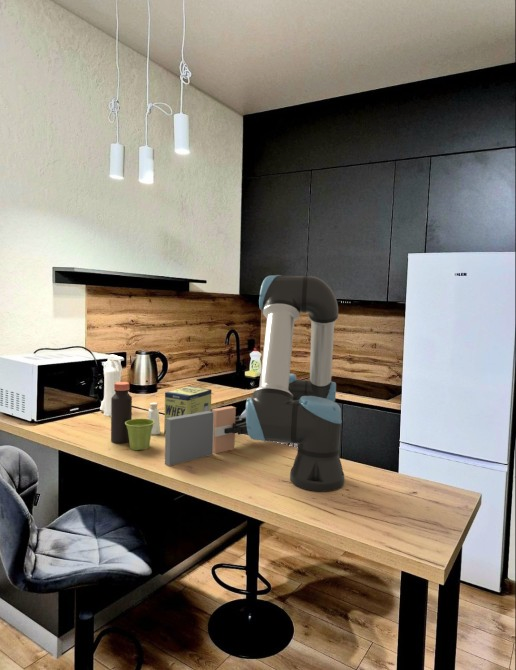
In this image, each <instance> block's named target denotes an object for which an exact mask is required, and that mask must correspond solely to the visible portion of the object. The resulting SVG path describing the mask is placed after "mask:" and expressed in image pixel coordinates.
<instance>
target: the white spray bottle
mask: <svg viewBox="0 0 516 670" xmlns="http://www.w3.org/2000/svg"><path fill="white" fill-rule="evenodd" d="M107 359H108V360H107V361H105V362H104V365H103V377H104V379H103V380H104V381H103V382H104V383H103V384H104V388H103V400H102V402H101V405H100V407H99V410H100V411H103V416H105V417H111V398H112V397H113V396H114V394H115V390H114V383H116V382H121V372H122V371H123V367H122V364H121V362H122V361H125V358H124V357H123V356H118V355H116V354H109V355H108V358H107ZM107 364H109V365H108V366H109V367H106V365H107Z"/></svg>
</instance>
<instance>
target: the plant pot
mask: <svg viewBox="0 0 516 670" xmlns="http://www.w3.org/2000/svg"><path fill="white" fill-rule="evenodd" d="M153 424H154V421H153V420H151V419H148V418H135V419H134V418H132V420H128V421H126V422H125V425H126V426H127V429H128V435H129V449H130V450H132V451H133V450H134V451H139V450H141V451H144V450H147V449H149V448H150V443H151V438H152V435H151V431H152V427H153Z"/></svg>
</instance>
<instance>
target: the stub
mask: <svg viewBox="0 0 516 670" xmlns="http://www.w3.org/2000/svg"><path fill="white" fill-rule="evenodd" d="M236 410H237V407H235V406H232V405H230V406H229V405H228V406H224V407H218V408H211V412H214V438H213V454H220V453H224V452H228V451H230V450H235V447H236V446H235V441H236V433H235V434H234V433H231V434H226V435H222V436H217V437H215V428H217V427H222V426H226V425H232V427H233V423H235V417H236V415H237V414H236V413H237V411H236Z"/></svg>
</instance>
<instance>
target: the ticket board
mask: <svg viewBox="0 0 516 670" xmlns="http://www.w3.org/2000/svg"><path fill="white" fill-rule="evenodd" d="M164 437H165V438H164V439H165V441H164V442H165V443H164V445H165V446H164V464H165V466H168V465H169V466H168V467H171V466H170V465H173V466H174V465H176V464H177V465H178V464H180V463H185V462H189V461H193V460H197V459H201V458H204V457H208V456H213V455H214V453H213V438H214V412H212V410H211V411H205V412H199V413H193V414H187V415H181V416H176V417H170V418H166V430H165V436H164Z"/></svg>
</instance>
